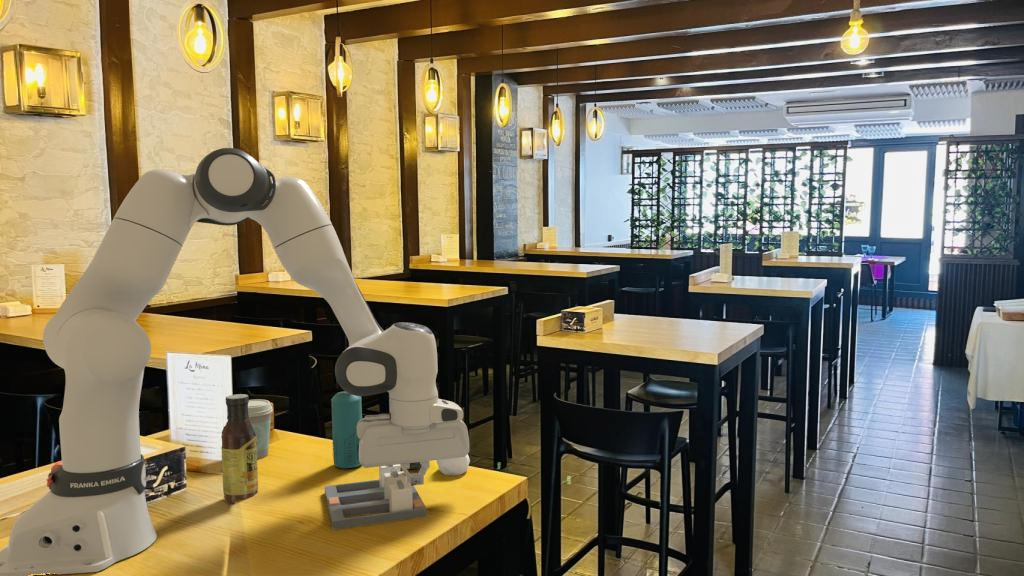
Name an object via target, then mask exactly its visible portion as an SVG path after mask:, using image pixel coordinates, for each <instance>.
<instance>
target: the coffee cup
mask: <svg viewBox="0 0 1024 576" xmlns="http://www.w3.org/2000/svg"><path fill="white" fill-rule="evenodd" d="M273 410H274V409H273V407H272V404H271V402H270V401H269V400H267V399H258V398H257V399H249V402H248V415H249V420H250V422H251V424H252V427H253V429H254V431H255V434H256V441H257V460H259V459H263V458H265V457H267V456H268V454H269V449H270V447H269V445H270V436H271V435H270V433H271V421H272V412H273Z"/></svg>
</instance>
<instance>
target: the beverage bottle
mask: <svg viewBox="0 0 1024 576" xmlns="http://www.w3.org/2000/svg"><path fill="white" fill-rule="evenodd" d="M335 379H336V378H335ZM335 389H337V390H343V389H342V388H341V386H340V385H339V383H338V382H337V379H336V380H335ZM330 401H331V420H332V421H331V422H332V426H331V427H332V429H331V430H332V431H331V434H332V438H331V439H332V451H333V452H332V456H333V457H332V458H333V463H334V464H333V465H334V466H335V467H336V468H339V469H351V468H357V467H360V466H362V465H361V464H360V462H359V442H360V439H359V438H358V436H357V423H358V422H359V421H360V420H361V419H362V418H363V413H362V412H363V410H362V409H363V408H362V406H363V405H362V396H355V395H351V394H349V393H347V392H346V391H345V390H343V391H340V392H337V393H335V395H333V397H332V398H331V399H330Z"/></svg>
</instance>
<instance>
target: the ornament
mask: <svg viewBox="0 0 1024 576" xmlns="http://www.w3.org/2000/svg"><path fill="white" fill-rule="evenodd" d="M470 462H471V460H470V456H469V453H468V454H467V455H466V457H460V458H451V459H442V460H436V463H437V466H438V469H439V472H440V473H442V474H443V475H444V476H459V475H462V474H465V473H466V472H468V469H469V465H470Z"/></svg>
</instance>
